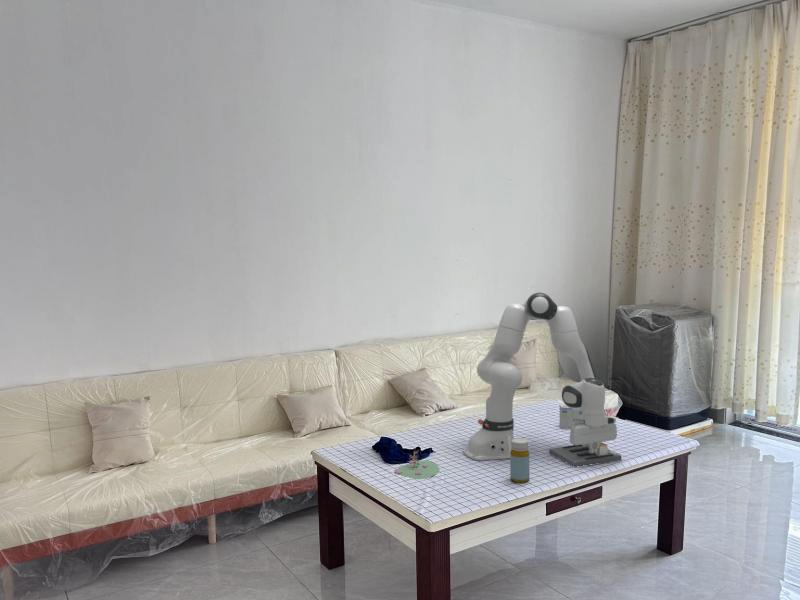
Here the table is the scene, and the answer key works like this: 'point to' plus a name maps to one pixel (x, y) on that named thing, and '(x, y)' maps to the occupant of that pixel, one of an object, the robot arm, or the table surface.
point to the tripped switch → (602, 449)
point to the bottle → (519, 460)
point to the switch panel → (582, 455)
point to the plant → (418, 469)
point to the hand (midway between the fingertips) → (593, 452)
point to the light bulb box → (569, 416)
